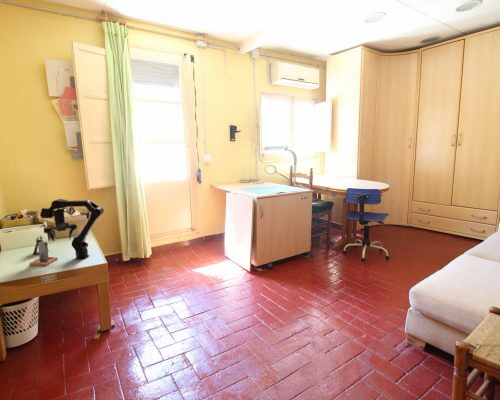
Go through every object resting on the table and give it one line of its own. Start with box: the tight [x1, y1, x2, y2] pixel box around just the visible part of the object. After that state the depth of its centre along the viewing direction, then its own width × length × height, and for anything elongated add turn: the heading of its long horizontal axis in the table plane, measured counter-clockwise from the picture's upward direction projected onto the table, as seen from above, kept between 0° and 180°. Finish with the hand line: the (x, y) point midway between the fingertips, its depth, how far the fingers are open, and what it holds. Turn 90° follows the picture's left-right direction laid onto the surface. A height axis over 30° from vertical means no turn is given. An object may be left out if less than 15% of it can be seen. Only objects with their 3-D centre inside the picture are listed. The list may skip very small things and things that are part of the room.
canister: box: [38, 241, 50, 263], centre depth 194 cm, size 5×5×13 cm
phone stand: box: [32, 235, 50, 257], centre depth 211 cm, size 9×6×12 cm, turn 118°
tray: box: [28, 256, 59, 267], centre depth 195 cm, size 11×11×2 cm
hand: (61, 240), depth 201 cm, fingers open, 9 cm apart
